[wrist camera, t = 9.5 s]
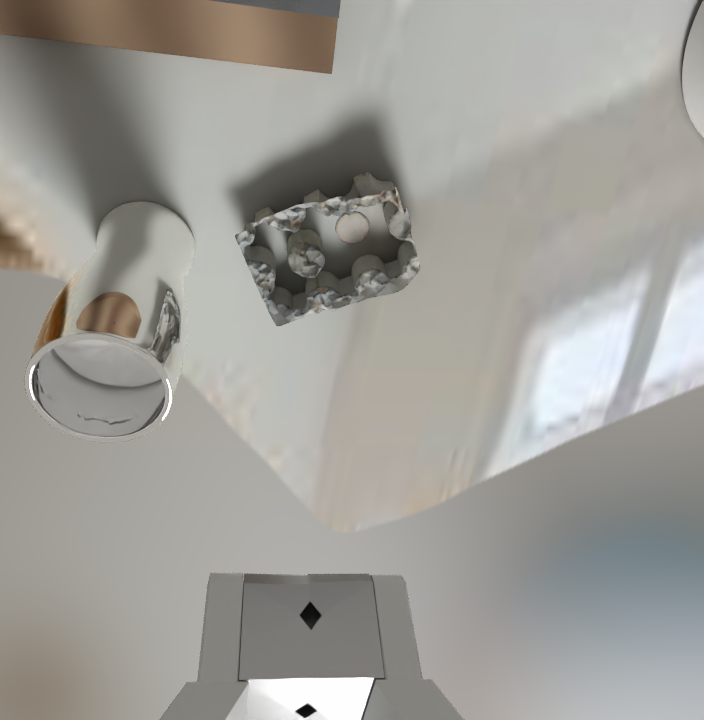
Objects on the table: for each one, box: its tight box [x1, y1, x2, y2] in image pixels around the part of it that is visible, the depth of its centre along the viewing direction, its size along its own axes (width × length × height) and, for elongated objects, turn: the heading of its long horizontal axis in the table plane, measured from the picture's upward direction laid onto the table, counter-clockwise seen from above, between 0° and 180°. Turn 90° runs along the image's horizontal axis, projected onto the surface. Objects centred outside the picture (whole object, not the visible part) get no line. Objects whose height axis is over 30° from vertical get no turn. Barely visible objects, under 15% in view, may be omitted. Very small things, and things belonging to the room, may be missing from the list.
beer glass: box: [24, 201, 195, 443], centre depth 36 cm, size 7×7×15 cm
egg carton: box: [235, 173, 420, 326], centre depth 42 cm, size 11×8×4 cm
